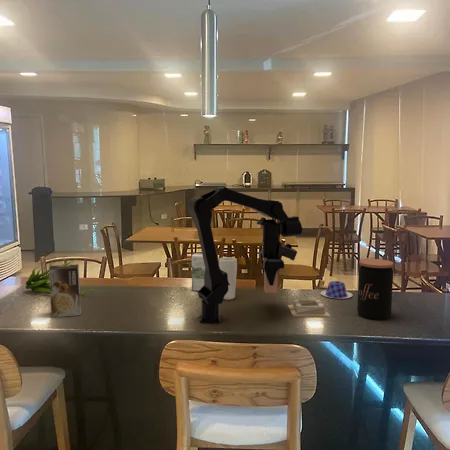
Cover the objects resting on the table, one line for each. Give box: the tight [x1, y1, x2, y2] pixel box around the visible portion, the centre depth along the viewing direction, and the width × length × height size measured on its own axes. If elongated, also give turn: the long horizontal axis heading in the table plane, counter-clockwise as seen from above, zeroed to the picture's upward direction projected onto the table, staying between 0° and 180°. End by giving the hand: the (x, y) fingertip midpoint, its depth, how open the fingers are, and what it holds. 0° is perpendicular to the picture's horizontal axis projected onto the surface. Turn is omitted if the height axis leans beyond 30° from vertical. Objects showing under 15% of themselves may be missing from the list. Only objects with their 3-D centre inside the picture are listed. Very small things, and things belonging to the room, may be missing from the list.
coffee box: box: [48, 264, 82, 319], centre depth 144 cm, size 9×6×16 cm
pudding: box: [320, 280, 354, 299], centre depth 168 cm, size 12×12×5 cm
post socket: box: [287, 298, 331, 318], centre depth 148 cm, size 12×12×3 cm
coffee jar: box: [356, 258, 394, 321], centre depth 143 cm, size 11×11×18 cm
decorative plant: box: [25, 257, 104, 296], centre depth 166 cm, size 18×30×15 cm, turn 45°
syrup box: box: [191, 252, 205, 292], centre depth 174 cm, size 6×6×14 cm
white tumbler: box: [218, 256, 238, 301], centre depth 162 cm, size 7×7×15 cm
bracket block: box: [263, 269, 279, 294], centre depth 146 cm, size 4×4×8 cm
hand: (270, 283), depth 146 cm, fingers closed on bracket block, 4 cm apart
